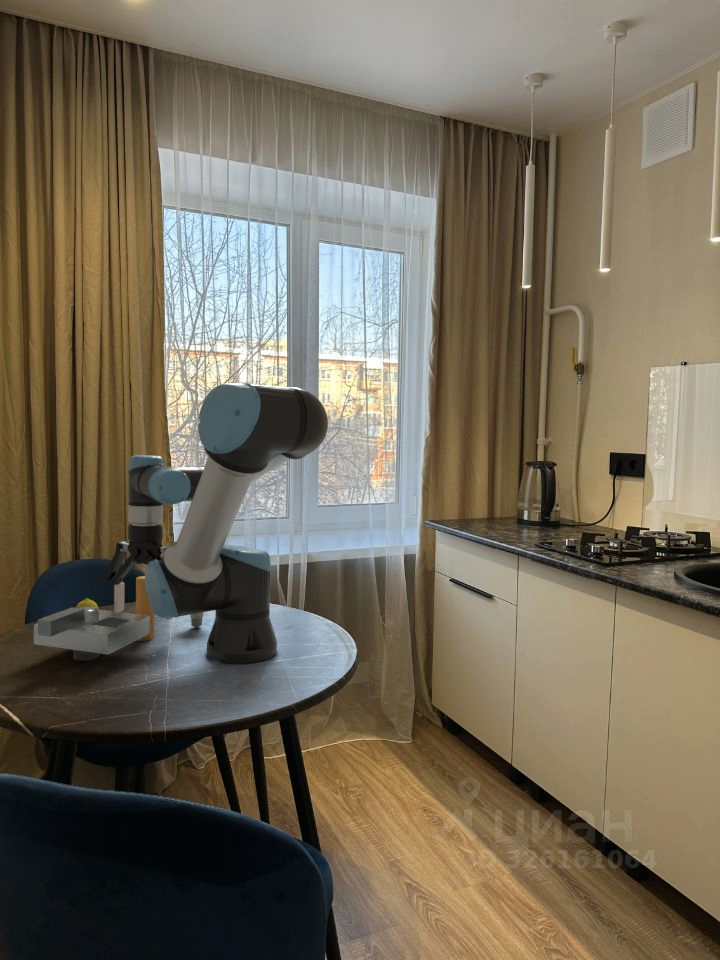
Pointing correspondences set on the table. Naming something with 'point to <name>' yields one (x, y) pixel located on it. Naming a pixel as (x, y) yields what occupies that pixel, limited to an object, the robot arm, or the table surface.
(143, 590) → the pin
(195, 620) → the lightbulb
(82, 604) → the lemon
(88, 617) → the gray rectangular tray
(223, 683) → the table surface
